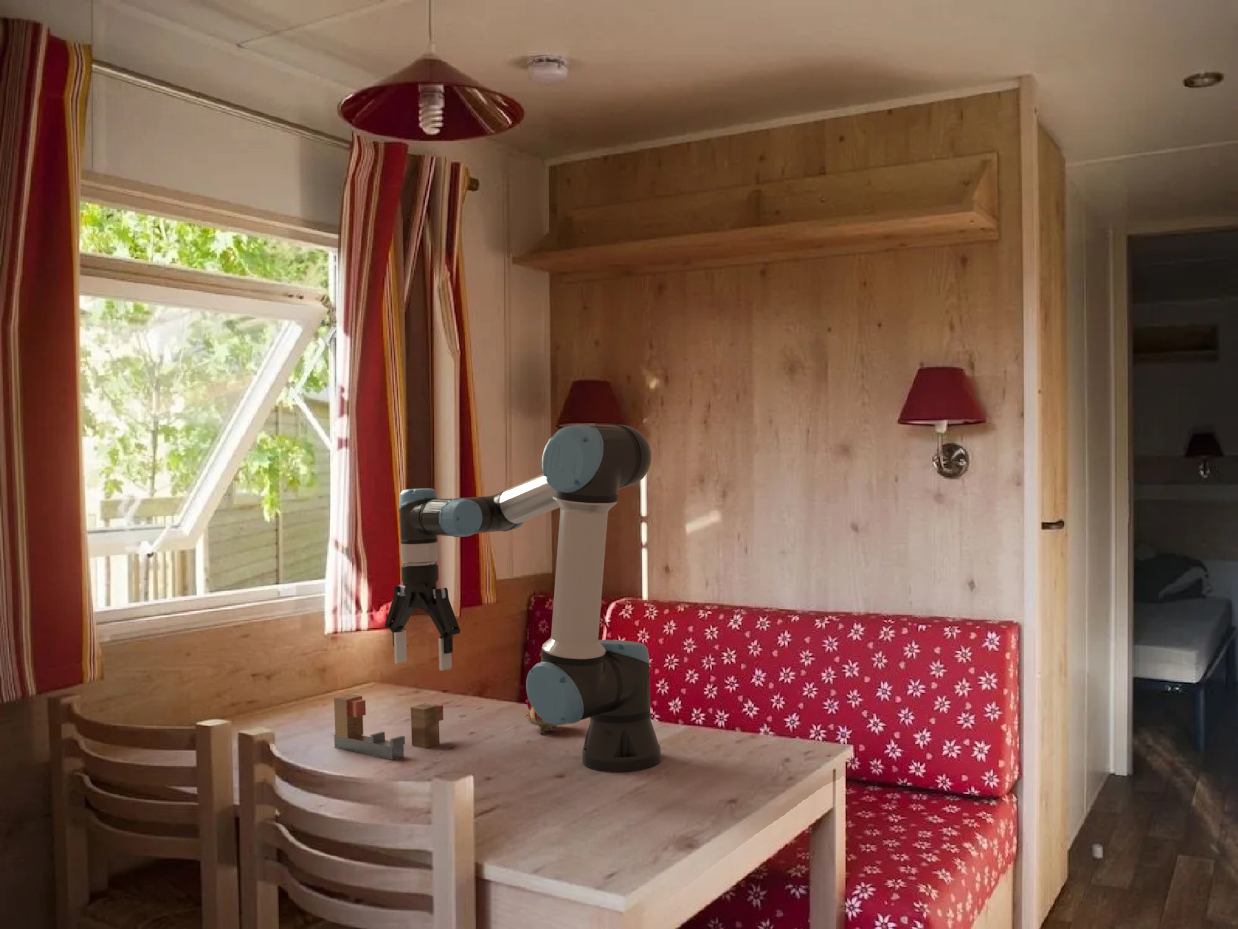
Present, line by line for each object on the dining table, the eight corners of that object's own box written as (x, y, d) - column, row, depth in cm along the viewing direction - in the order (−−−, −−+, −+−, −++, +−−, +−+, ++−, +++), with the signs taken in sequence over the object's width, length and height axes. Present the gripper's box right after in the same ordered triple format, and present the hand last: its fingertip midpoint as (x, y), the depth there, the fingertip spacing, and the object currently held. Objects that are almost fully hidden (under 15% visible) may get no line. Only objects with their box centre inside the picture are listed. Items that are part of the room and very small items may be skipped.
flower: (562, 730, 230) (569, 694, 235) (519, 722, 230) (527, 687, 235) (561, 746, 238) (567, 711, 243) (519, 738, 238) (526, 704, 243)
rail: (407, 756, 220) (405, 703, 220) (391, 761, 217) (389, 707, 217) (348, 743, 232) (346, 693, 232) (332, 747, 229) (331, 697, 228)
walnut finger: (425, 748, 226) (423, 709, 226) (411, 745, 228) (410, 707, 228) (446, 741, 231) (445, 703, 231) (433, 739, 233) (432, 701, 233)
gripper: (475, 564, 224) (478, 668, 224) (393, 559, 239) (396, 657, 239) (448, 568, 218) (451, 675, 218) (366, 562, 233) (369, 663, 233)
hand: (422, 666), depth 229 cm, fingers open, 13 cm apart
